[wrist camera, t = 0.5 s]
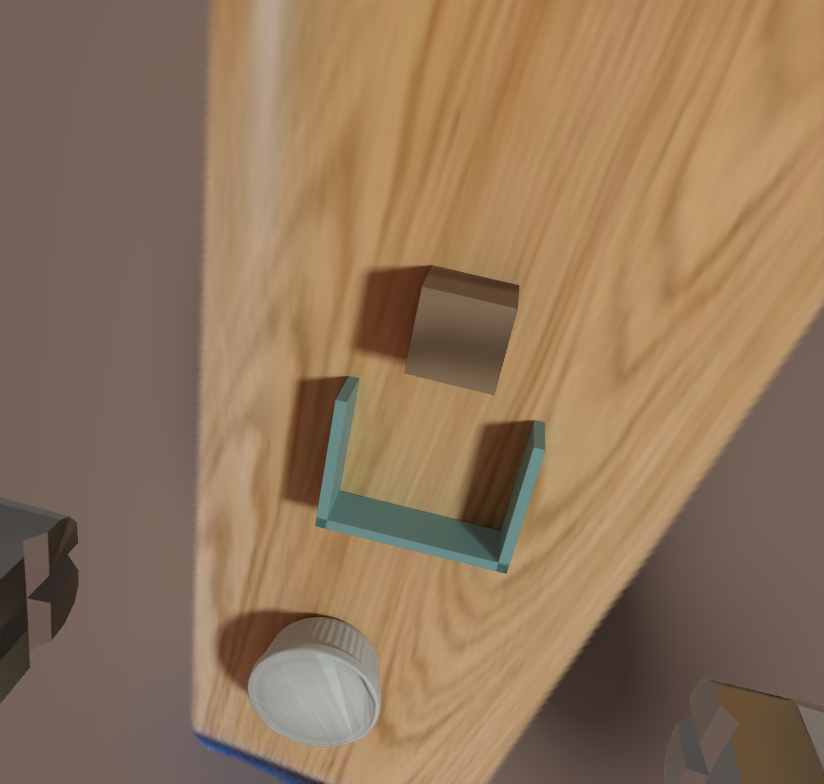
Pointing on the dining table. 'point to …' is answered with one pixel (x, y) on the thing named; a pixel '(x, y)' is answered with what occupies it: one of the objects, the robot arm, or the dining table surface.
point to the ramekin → (317, 683)
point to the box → (416, 525)
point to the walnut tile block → (462, 329)
